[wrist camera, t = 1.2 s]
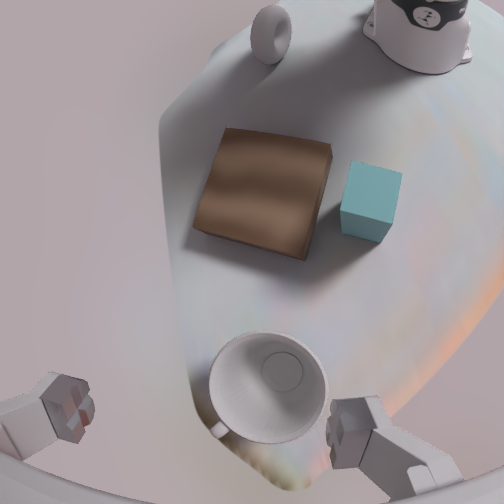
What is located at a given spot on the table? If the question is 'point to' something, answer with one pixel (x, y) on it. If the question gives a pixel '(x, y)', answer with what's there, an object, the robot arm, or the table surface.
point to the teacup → (267, 388)
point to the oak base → (265, 191)
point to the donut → (271, 34)
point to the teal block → (369, 201)
